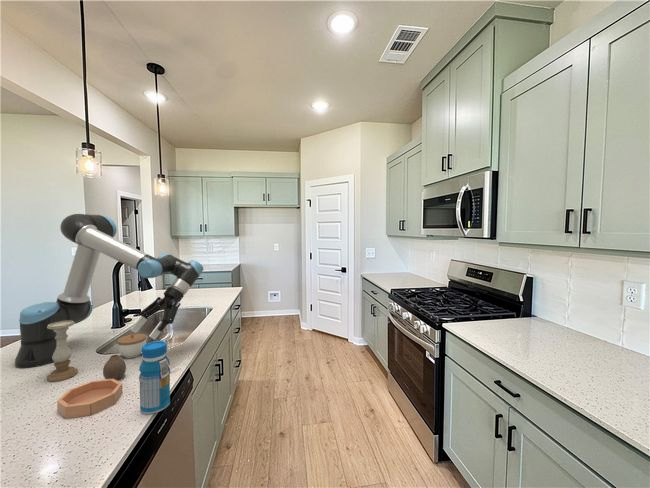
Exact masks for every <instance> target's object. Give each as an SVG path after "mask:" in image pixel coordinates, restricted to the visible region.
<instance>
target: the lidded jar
mask: <svg viewBox="0 0 650 488" xmlns="http://www.w3.org/2000/svg"><path fill="white" fill-rule="evenodd" d="M116 344H117V348H118V352H119V354H120V355H121V356H122V357H124V359H133V358H137V357H139V356H140V355H141V354H142V347H143V345H145V344H147V334H144V333H132V334H129V335H124V336H122V337H120V338H118V339H117V343H116ZM140 353H141V354H140Z"/></svg>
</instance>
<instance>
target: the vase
mask: <svg viewBox="0 0 650 488" xmlns="http://www.w3.org/2000/svg"><path fill="white" fill-rule="evenodd" d="M126 369H127V364H126V362H125V360H124V359H123V358H122V357H120V355H119V354H111V355H110V357H109V359H108V360H107V361H106V363H105V364H104V366H103V369H102V374H103V377H104V380H105V379H115V380H117V381H119V380H121V379H122V378H123V376H125V373H126Z"/></svg>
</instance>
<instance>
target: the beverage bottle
mask: <svg viewBox="0 0 650 488" xmlns="http://www.w3.org/2000/svg"><path fill="white" fill-rule="evenodd" d="M167 352H168V344H167V342H166V341H164V340H156V341H155V340H154V341H151V342H148V343H147V342H146V344H145V345H143V347H142V352H141V357H142V359H143V360H142V361H141V363H140V365H139V369H138V371H139V376H138V381H139V404H140V405H139V410H140V412H141V413H142V414H147V415H149V414H150V415H151V414H156V413H159V412H162V411H163V410H165V409H166V408H167V407H169V406H170V404H171V382H170V381H171V379H170V376H171V373H170V370H171V368H170V367H169V366H170V362H171V361H170V359H169V358H168V356H167V355H166V354H167Z"/></svg>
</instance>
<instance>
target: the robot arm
mask: <svg viewBox="0 0 650 488" xmlns="http://www.w3.org/2000/svg"><path fill="white" fill-rule="evenodd" d="M117 229H118V227H117V225H116V223H115V221H114V220H113V219H112V218H110V217H108V216H105V215H101V214H88V213H87V214H86V213H85V214H84V213H72V214H70V215H68V216H66V217H65V218H63V219H62V221H61V223H60V232H61V235H63V236H64V237H65V238H66V239H67V240H69V241H71V243H74V244H76V245H77V247H76V251H75V254H74V256H73V259H72V260H73V261H72V264H71V268H70V271H69V274H68V276H67V281H66V283H65V287H64V290H63V292H62V293H60V294H58V295H57V298H56V301H46V302H45V301H43V302H41V303H35V304H32V305H29V306H27V307H24V308H23V309H22V310H21V311H20V313H19V320H18V321H19V332H20V347H19V348H18V349H19V350H18V351H17V355H16V357H15V358H14V359H15V360H14V364H15V367H16V368H21V369H25V368H26V369H27V368H34V367H39V366H40V367H42V366H44V365H48V364H51V363H55V361H53V359H52V356H53V353H54V351H55V349H56V345H57V341H56V339H54V338H55V337H56V332H54V329H47V326H48V325H49V324H51V323H55V322H60V321H74V325H76V324H79V323H81V322H82V321H85V320H86V319H88V318H89V317H90V316H91V314H92V312H93V310H94V309H93V304H92V301H91V300H90V299H91V297H90V296H89V295H88V293H89V290H90V287H91V283H92V280H93V277H94V273H95V271H96V267H97V264H98V260H99V257H100V254H103V255H105V256H108V257H109V258H111V259H113V260H116V261H117V262H119V263H122V264H124V265H126V266H129V267H130V268H132V269H134V270H136V271H137V272H138V274H139V276H140V277H142V278H143V279H154V278H157V277H161V276H164V275H168V274H170V275H173V276H175V279H174V280H173V281H172V283H171V284H170V285H169V286H168V287H167V289H166V290H165V291H164V292H163V295H164V297H163V298H162V297H160V296H158V297H157V298H156V299H155V300H154V301H153V302H151V303H150V304H149V305H147V306H146V307H145V308H144V309H142V310H141V311H140V312H139V315H140V317H139V318H138V320H137V321H136V322H135V323H134V324H133V326H132V327H131V328H130V331H131V332H133V334H138V332H139V331H140V329H141V328H142V327H143V326H144V324H145V323H147V321H148V319H149V317H151V316H153V315H155V314H156V313H157V312H159V311H163V317H162V319H161V320H160V321H159V322H158V324H157V325H156V326H155V327H154V329H153V330H152V332H151V333H150V334H149V335H148V337H150V338H151V339H153V340H154V341H155V340H156V339H157V338H158V337H159V335H160V334H161V332H162V331H164V329H165V328H166V326H168V325H169V324H170V325H172V324H173V323H174V321H175V318H176V315H177V313H178V310H179V307H181V305H182V303H181V300H182V299H183V298H184V295H186V294H187V293H188V292H189V290H190V289H191V287H193V285H194V284H195V282H196V281H197V280H198V279H199V277H200V276H201V274H202V273H203V272H204V266H203V265H202V264H201V263H200V262H198V260H194V259H191V260H190V261H188V262H186V261H184V260H182V259H179V258H178V257H175V256H174V255H172V254H170V253H167V252H163V253H161V254H159V255H158V256H157V257H154V256H152V255H150V254H148V253H146V252H143V251H141V250H139V249H138V248H136V247H133V246H132V245H129V244H127V243H125V242H123V241H121V240H119V239H118V238H116V237H115V236H116V234H117V232H118V231H117Z"/></svg>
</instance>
